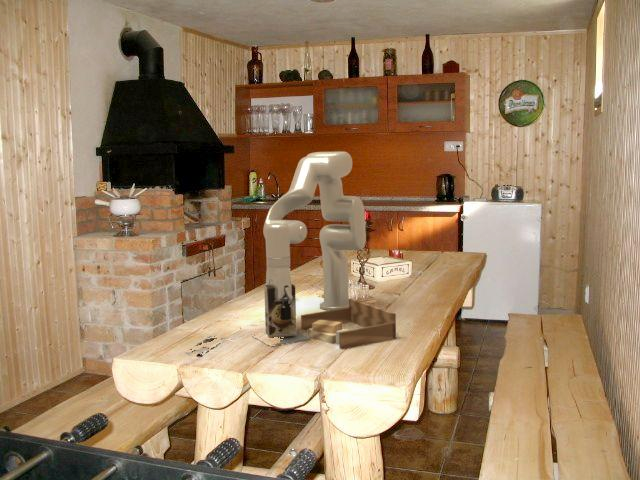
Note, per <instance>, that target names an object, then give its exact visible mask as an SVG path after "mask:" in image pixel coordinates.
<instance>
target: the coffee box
mask: <svg viewBox="0 0 640 480" xmlns="http://www.w3.org/2000/svg"><path fill="white" fill-rule="evenodd" d="M263 286H264V291H263V292H264V315H265V316H264V319H265V320H264V321H265V325H264V326H265V333H266V334H267V335H268V337H269V338H274V337H284V336H294V335H297V332H298V331H297V304H296V299H297V297H296V286H295V285H294V284H293V283H291V286H292V296H293V299H292V303H291V319H289V320H281V308H282V305H281V301H280V300H276V299H275V288H274V287H272V286H268V285H266V284H264V285H263ZM285 297H287V296H286V294H285V295H284V296H283V297H282V298H285ZM283 301H284V303H285V301H286V300H283Z"/></svg>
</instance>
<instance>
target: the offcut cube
mask: <svg viewBox="0 0 640 480" xmlns="http://www.w3.org/2000/svg"><path fill="white" fill-rule="evenodd" d="M347 330H349V329H348V328H342V330H339V331H336V343H335V344H337V345H339V332H342V331H347Z"/></svg>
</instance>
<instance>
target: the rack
mask: <svg viewBox="0 0 640 480" xmlns="http://www.w3.org/2000/svg"><path fill="white" fill-rule="evenodd" d="M396 314H397V312H396V313H395V312H392V311H390V310H386V309H383V308H380V307H378V306H375V305H372V304H369V303H366V302H363V301H360V300H357V299H354V298H349V307H348V308H342V309H336V310H326V311H317V312H313V313H306V314H301V315H300V320H301V322H300V323H301V324H300V325H301V328H300V329H301V331H308V329H309V328H312V323H314V322H316V321H318V320H327V321H337V322H342V325H343V324H347V323H353V324H355V325H357V326H360V327H359V328H354V329H348V330H347V331H342V332H339V344H338V345H339V349H340V350H343V349H348V348H349V349H350V348H354V346H355V347H359V345H360V346H363V345H364V344H365V345H369V343H370V344H373V343H379V342H384V341H388V340H394V339H397V319H396V318H397V315H396Z"/></svg>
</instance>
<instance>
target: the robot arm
mask: <svg viewBox="0 0 640 480" xmlns="http://www.w3.org/2000/svg"><path fill="white" fill-rule="evenodd" d="M352 169H353V158H352V156H351V154H350V153H348V152H347V151H316V152H311V153H308V154H307V155H306V156H303V157H302V158H300V160H299V161H298V163H297V166H296V168H295V172H294V175H293V178H292V181H291V184H290V187H289V189H288V191H287V192H286V193H285V194H283V195H282V196H281V197H279V199H277V200H276V201H275V202H274V203H273V204H272V205H271V207H270V208H269V210H268V212H267V215H266V218H265V221H264V224H263V229H262V233H263V237H264V240H265V257H266V270H265V271H266V272H265V274H266V275H265V285H268V286H272V287H274V288H275V299H276V300H280V301H281V305H282V308H281V320H289V319H291V303H292V299H293V296H292V286H291V284H292V277H291V268H290V267H291V244H295V245H296V244H297V245H298V244H300V243H302V242H303V241H304V240H305V239H306V238H307V236H308V235H307V234H308V228H307V225H306V224H305V223H304V222H302V221H300V220H297V219H295V220H293V219H291V220H290V219H289V220H288V219H283V218H284V217H285V216H287V214H289V213H291V212H293V211H295V210H298V209H301V208H302V207H305V206H307V205H309V204H310V203H312V201H313V199H314V196H315V193H316V190H317V186H318V188H319V197H320V208H321V209H320V211H321V216H322V218H323V219H324V220H325V221H327V222H335V224H334V223H333V224H327V225H324V226H323V227H322V228H321V229H320V230H319V235H318V236H319V243H320V247H321V253H322V254H321V255H322V277H323V279H322V281H323V283H322V284H323V294H322V295H321V298H322V299H323V301H322V302H320V304H319V308H320V309H322V310H326V311H330V310H336V309H342V308H348V307H349V299H350V298H349V296H350V295H349V293H350V292H349V261H348V257H347V256H346V254H345V252H344V251H361V250H363V249H364V248H365V245H366V241H367V233H366V220H365V219H366V216H365V207H364V203H363V200H362V199H361V198H360V197H358V196H355V195H344V191H343V182H342V178H344V177H346V176H348V175H349V174H350V173H351V171H352ZM336 222H337V223H338V222H341V223H343V222H345V223H348V224H341V223H339V224H337V223H336ZM285 294H286V296H287V297H285V298H282V297H283V296H284V295H285ZM283 300H286V301H285V303H284V301H283Z"/></svg>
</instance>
